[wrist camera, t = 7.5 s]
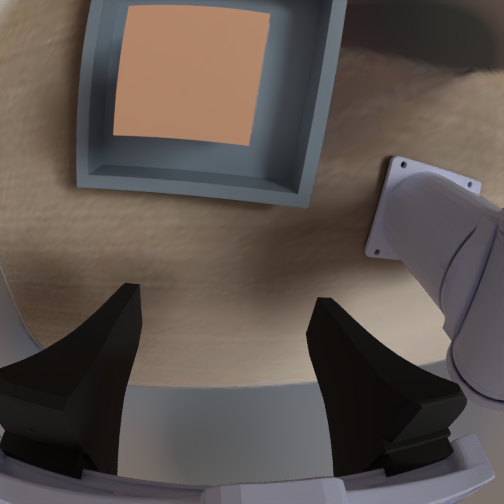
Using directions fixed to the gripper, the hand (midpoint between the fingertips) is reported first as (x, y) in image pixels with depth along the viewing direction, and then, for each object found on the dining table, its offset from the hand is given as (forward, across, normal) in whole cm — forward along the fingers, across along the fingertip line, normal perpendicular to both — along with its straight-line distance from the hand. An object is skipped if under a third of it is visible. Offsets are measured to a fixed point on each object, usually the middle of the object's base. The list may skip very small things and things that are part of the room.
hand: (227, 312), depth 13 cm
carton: (+6, +2, -9) cm, 11 cm away
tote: (+10, +2, -9) cm, 14 cm away
